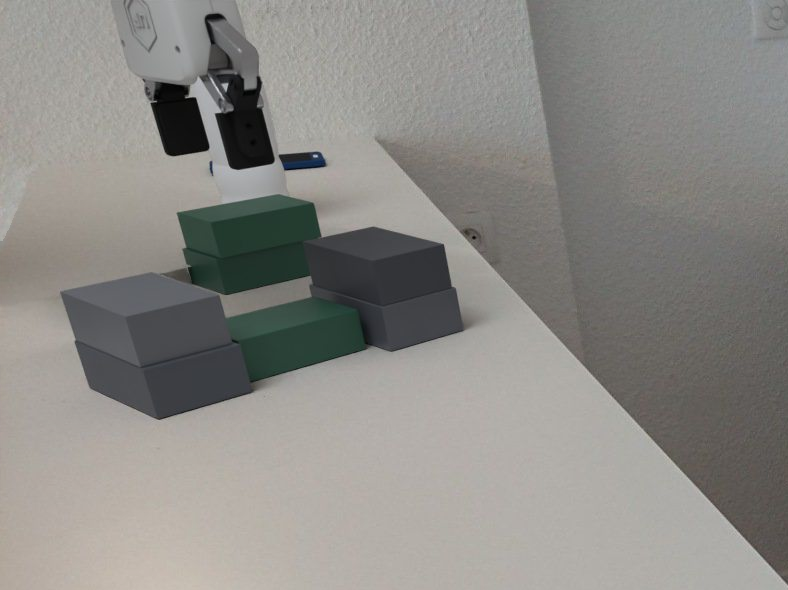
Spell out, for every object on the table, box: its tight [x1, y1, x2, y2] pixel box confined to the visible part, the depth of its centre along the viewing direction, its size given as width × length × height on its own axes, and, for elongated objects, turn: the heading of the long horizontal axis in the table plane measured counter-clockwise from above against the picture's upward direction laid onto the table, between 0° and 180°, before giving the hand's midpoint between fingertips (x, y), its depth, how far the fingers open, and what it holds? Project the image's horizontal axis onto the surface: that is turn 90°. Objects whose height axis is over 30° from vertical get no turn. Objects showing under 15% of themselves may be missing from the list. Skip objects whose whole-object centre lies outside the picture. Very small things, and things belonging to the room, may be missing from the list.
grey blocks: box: [59, 226, 464, 420], centre depth 103 cm, size 26×11×8 cm, turn 144°
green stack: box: [176, 194, 323, 295], centre depth 124 cm, size 10×7×7 cm, turn 144°
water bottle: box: [190, 73, 291, 205], centre depth 138 cm, size 7×7×25 cm
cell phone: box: [208, 151, 326, 175], centre depth 173 cm, size 7×14×1 cm, turn 118°
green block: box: [226, 296, 367, 383], centre depth 104 cm, size 10×6×3 cm, turn 144°
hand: (220, 159), depth 97 cm, fingers open, 9 cm apart
